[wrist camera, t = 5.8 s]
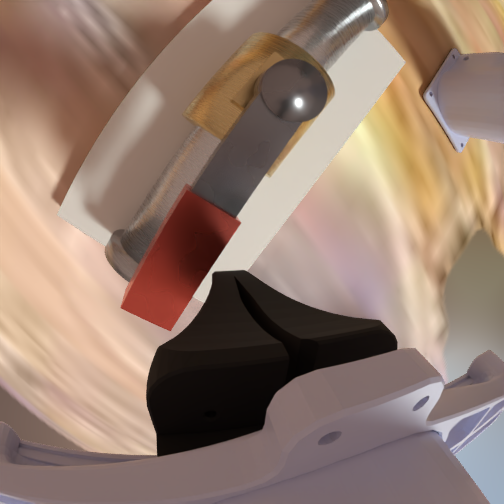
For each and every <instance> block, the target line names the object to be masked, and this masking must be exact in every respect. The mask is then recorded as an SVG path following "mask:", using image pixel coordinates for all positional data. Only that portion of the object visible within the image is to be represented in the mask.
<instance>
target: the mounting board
mask: <svg viewBox="0 0 504 504" xmlns="http://www.w3.org/2000/svg"><path fill="white" fill-rule="evenodd" d="M311 1H312V0H212V1H211V2H210V3H209V4H208V5H207V6H206V7H205V8H203V9H202V10H201V11H200V12H199V13H198V14H197V15H196V16H195V17H194V18H193V19H192V20H191V21H190V22H189V23H188V24H187V25H186V26H185V27H184V28H183V29H182V30H181V31H180V32H179V33H178V34H177V35H176V36H175V37H174V38H173V39H172V41H171V42H170V43H169V44H168V45H167V46H166V47H165V48H164V49H163V50H162V52H161V53H160V54H159V55H158V56H157V57H156V59H155V60H154V61H153V62H152V63H151V64H150V66H149V67H148V68H147V69H146V71H145V72H144V73H143V74H142V76H141V77H140V78H139V79H138V81H137V82H136V83H135V84H134V86H133V87H132V88H131V90H130V91H129V92H128V94H127V95H126V97H125V98H124V99H123V101H122V102H121V103H120V105H119V106H118V108H117V109H116V111H115V112H114V114H113V115H112V116H111V118H110V119H109V121H108V123H107V124H106V126H105V127H104V129H103V130H102V132H101V133H100V135H99V137H98V138H97V140H96V141H95V143H94V145H93V146H92V148H91V150H90V152H89V153H88V155H87V157H86V158H85V160H84V162H83V164H82V166H81V167H80V169H79V171H78V173H77V175H76V177H75V179H74V180H73V182H72V184H71V186H70V188H69V190H68V192H67V194H66V196H65V198H64V201H63V203H62V205H61V207H60V209H59V211H58V214H57V215H58V216H59V217H61V218H62V219H64V220H65V221H67V222H68V223H70V224H71V225H73V226H74V227H76V228H77V229H79V230H80V231H82V232H83V233H85V234H86V235H88V236H90V237H91V238H93V239H94V240H96V241H97V242H99V243H101V244H102V245H104V246H105V247H106V245H107V243H108V241H109V239H110V237H111V235H112V234H113V232H114V231H116V230H118V229H125V230H126V228H127V227H128V225H129V223H130V222H131V220H132V218H133V217H134V215H135V213H136V212H137V210H138V208H139V207H140V205H141V204H142V202H143V200H144V199H145V197H146V196H147V194H148V193H149V191H150V189H151V188H152V186H153V185H154V183H155V182H156V180H157V179H158V177H159V176H160V174H161V173H162V171H163V170H164V168H165V167H166V166H167V164H168V163H169V161H170V160H171V158H172V157H173V156H174V154H175V153H176V151H177V150H178V149H179V147H180V146H181V144H182V143H183V142H184V140H185V139H186V138H187V136H188V135H189V134H190V132H191V131H192V130H193V128H194V127H195V126H194V125H192V124H191V123H190V122H189V121H188V120H186V119H185V118H184V117H183V116H182V113H183V112H184V111H185V109H186V108H187V107H188V106H189V104H190V103H191V102H192V101H193V99H194V98H195V97H196V96H197V94H198V93H199V92H200V91H201V90H202V88H203V87H204V86H205V85H206V84H207V82H208V81H209V80H210V79H211V78H212V77H213V75H214V74H215V73H216V72H217V71H218V70H219V69H220V68H221V66H222V65H223V64H224V63H225V62H226V61H227V60H228V59H229V58H230V57H231V55H232V54H233V53H234V52H235V51H236V50H237V49H238V48H239V47H240V46H241V45H242V44H243V43H244V42H245V41H246V40H247V39H248V38H249V37H250V36H251V35H252V34H254V33H258V32H265V33H271V34H274V35H275V34H276V33H277V32H278V31H279V30H281V29H282V28H283V27H284V26H285V25H286V24H287V23H288V22H289V21H290V20H291V19H292V18H293V17H294V16H295V15H296V14H297V13H299V12H300V11H301V10H302V9H303V8H304V7H305V6H306V5H307V4H309V3H310V2H311ZM405 63H406V62H405V61H404V59H403V58H402V57H401V56H400V55H399V53H398V52H397V51H396V50H395V49H394V47H393V46H392V45H391V44H390V43H389V42H388V41H387V40H386V38H385V37H384V36H383V35H382V34H381V33H380V32H379V31H378V30H377V29H376V30H373V31H364V32H363V33H362V34H361V35H360V36H359V37H358V38H357V39H356V40H355V41H354V42H353V44H352V45H351V46H350V47H349V48H348V49H347V50H346V51H345V52H344V54H343V55H342V56H341V57H340V58H339V59H338V60H337V61H336V63H335V64H334V65H333V66H332V67H331V68H330V69H329V71H328V72H327V73H328V75H329V76H330V78H331V80H332V82H333V85H334V88H335V96H334V98H333V99H332V100H331V101H330V103H329V104H328V105H327V106H326V108H325V109H324V110H323V111H322V113H321V114H320V115H319V116H318V118H317V119H316V120H315V121H314V123H313V124H312V125H311V126H310V128H309V129H308V130H307V131H306V133H305V134H304V135H303V136H302V138H301V139H300V140H299V141H298V143H297V144H296V145H295V147H294V148H293V149H292V150H291V152H290V153H289V154H288V156H287V157H286V158H285V159H284V161H283V162H282V163H281V165H280V166H279V167H278V168H277V170H276V171H275V172H274V174H273V175H272V176H271V178H269V177H267V176H264V177H263V179H262V180H261V182H260V183H259V185H258V186H257V188H256V189H255V190H254V192H253V193H252V195H251V196H250V198H249V199H248V201H247V202H246V204H245V205H244V207H243V208H242V210H241V211H240V213H239V214H238V215H237V217H238V219H239V220H240V221H241V224H240V226H239V227H238V229H237V230H236V232H235V233H234V235H233V236H232V238H231V239H230V241H229V242H228V244H227V245H226V247H225V248H224V250H223V251H222V253H221V254H220V256H219V257H218V259H217V260H216V262H215V263H214V265H213V266H212V268H211V269H210V271H209V272H208V274H207V275H206V277H205V278H204V280H203V281H202V283H201V284H200V286H199V288H198V289H197V291H196V292H195V294H194V295H193V297H194V298H195V299H197V300H199V301H201V302H203V303H205V301H206V299H207V296H208V294H209V291H210V288H211V285H212V273H213V272H215V271H233V270H245V271H248V269H249V268H250V267H251V265H252V264H253V263H254V262H255V260H256V259H257V258H258V256H259V255H260V254H261V252H262V251H263V250H264V249H265V247H266V246H267V245H268V243H269V242H270V241H271V240H272V238H273V237H274V236H275V234H276V233H277V232H278V230H279V229H280V228H281V227H282V225H283V224H284V223H285V221H286V220H287V219H288V217H289V216H290V215H291V213H292V212H293V211H294V210H295V208H296V207H297V206H298V204H299V203H300V202H301V200H302V199H303V198H304V197H305V195H306V194H307V193H308V191H309V190H310V189H311V187H312V186H313V185H314V183H315V182H316V181H317V179H318V178H319V177H320V176H321V174H322V173H323V172H324V170H325V169H326V168H327V166H328V165H329V164H330V162H331V161H332V160H333V158H334V157H335V156H336V154H337V153H338V152H339V151H340V149H341V148H342V147H343V145H344V144H345V143H346V141H347V140H348V139H349V137H350V136H351V135H352V133H353V132H354V131H355V129H356V128H357V127H358V125H359V124H360V123H361V121H362V120H363V119H364V117H365V116H366V115H367V113H368V112H369V111H370V109H371V108H372V107H373V105H374V104H375V103H376V101H377V100H378V99H379V97H380V96H381V95H382V93H383V92H384V91H385V89H386V88H387V87H388V85H389V84H390V83H391V81H392V80H393V79H394V77H395V76H396V75H397V73H398V72H399V71H400V69H401V68H402V67H403V65H404V64H405Z"/></svg>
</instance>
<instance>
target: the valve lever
mask: <svg viewBox="0 0 504 504" xmlns="http://www.w3.org/2000/svg"><path fill="white" fill-rule="evenodd" d="M326 101H327V86H326V83H325V80H324V78H323V76H322V75H321V73H320V72H319V71H318V70H317V69H316V68H315V67H314V66H313V65H311V64H310V63H308V62H306V61H303V60H300V59H284V60H281V61H279V62H277V63H275V64H274V65H272V66H271V67H270V68H268V69H267V70H266V71H264V72H263V73H262V74H261V75H260V76H259V77H258V79H257V81H256V83H255V87H254V96H253V98H252V99H251V100H250V102H249V103H248V104H247V106H246V107H245V108H244V110H243V111H242V112H241V114H240V115H239V116H238V118H237V119H236V121H235V122H234V123H233V125H232V126H231V127H230V129H229V130H228V132H227V133H226V135H225V136H224V137H223V139H222V140H221V142H220V143H219V145H218V146H217V147H216V149H215V150H214V152H213V153H212V155H211V156H210V158H209V159H208V161H207V162H206V164H205V165H204V167H203V168H202V170H201V171H200V173H199V174H198V176H197V177H196V179H195V181H194V182H193V184H192V185H191V186H190V185H188V184H187V183H186V184H185V186H184V187H183V189H182V191H181V192H180V194H179V196H178V197H177V199H176V200H175V202H174V204H173V205H172V207H171V209H170V210H169V212H168V214H167V215H166V217H165V219H164V220H163V222H162V224H161V226H160V227H159V229H158V231H157V233H156V234H155V236H154V238H153V240H152V241H151V243H150V245H149V247H148V249H147V250H146V252H145V254H144V256H143V258H142V260H141V261H140V263H139V265H138V267H137V269H136V271H135V273H134V275H133V276H132V278H131V280H130V282H129V284H128V286H127V288H126V291H125V294H124V297H123V301H122V304H121V308H122V309H124V310H126V311H128V312H130V313H132V314H134V315H136V316H138V317H140V318H142V319H145V320H147V321H149V322H151V323H153V324H155V325H158V326H160V327H162V328H164V329H167V330H169V331H171V329H172V328H173V326H174V325H175V323H176V322H177V320H178V318H179V317H180V315H181V314H182V312H183V311H184V309H185V308H186V306H187V304H188V303H189V301H190V300H191V298H192V297H193V295H194V294H195V292H196V291H197V289H198V288H199V286H200V284H201V283H202V281H203V280H204V278H205V277H206V275H207V274H208V272H209V271H210V269H211V268H212V266H213V265H214V263H215V262H216V260H217V259H218V257H219V256H220V254H221V253H222V251H223V250H224V248H225V247H226V245H227V244H228V242H229V241H230V239H231V238H232V236H233V235H234V233H235V232H236V230H237V229H238V227H239V226H240V224H241V221H240V220H239V219H238V217H237V215H238V214H239V213H240V211H241V210H242V208H243V207H244V205H245V204H246V202H247V201H248V199H249V198H250V196H251V195H252V193H253V192H254V190H255V189H256V188H257V186H258V185H259V183H260V182H261V180H262V179H263V177H264V176H265V175H266V173H267V172H268V170H269V169H270V167H271V166H272V164H273V163H274V162H275V160H276V159H277V157H278V156H279V154H280V153H281V152H282V150H283V149H284V147H285V146H286V145H287V143H288V142H289V140H290V139H291V138H292V136H293V135H294V133H295V132H296V131H297V129H298V128H299V126H300V125H301V124H302V122H305V121H309V120H311V119H313V118H315V117H316V116H317V115H319V114H320V112H321V111H322V110H323V108H324V106H325V104H326Z"/></svg>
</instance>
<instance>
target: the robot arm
mask: <svg viewBox="0 0 504 504" xmlns="http://www.w3.org/2000/svg"><path fill="white" fill-rule="evenodd" d="M429 93H430V94H429ZM423 98H424V100H425V102H426V103H427V104H428V106H429V107H430V109H431V110H432V112H433V113H434V115H435V116H436V118H437V119H438V121H439V123H440V124H441V126H442V127H443V129H444V131H445V132H446V134H447V136H448V137H449V139H450V141H451V142H452V144H453V146H454V148H455V149H456V151H457V152H459V153H461V152H462V151H463V149H464V147H465V145H466V143H467V141H468V139H469V137H471V138H477V139H483V140H488V141H494V142H499V143H503V144H504V53H500V52H490V53H473V54H462V55H460V53H459V52H458V50H457V49H456V48H453V49H452V50H451V51H450V53H449V54H448V56H447V58H446V59H445V61H444V63H443V64H442V66H441V67H440V69H439V71H438V72H437V74H436V75H435V77H434V78H433V80H432V82H431V83H430V85H429V86H428V88H427V89H426V91H425V92H424V94H423ZM444 384H445V382H444V380H443V378H442V376H441V374H440V373H439V372H438V371H437V370H436V369H435V368H434V367H433V366H432V365H431V364H430V363H429V362H428V361H427V360H426V359H425V358H424V357H423V356H422V355H421V354H420V353H419V352H418V351H417V350H416V349H415V348H404V349H398V350H397V340H396V337H395V335H394V334H393V333H392V332H391V331H390V330H389V329H388V328H387V327H386V326H385V325H384V324H383V323H382V322H381V321H380V320H372V319H362V318H353V317H348V316H343V315H338V314H333V313H329V312H326V311H322V310H319V309H316V308H313V307H310V306H307V305H305V304H302V303H300V302H298V301H295V300H293V299H291V298H289V297H287V296H285V295H283V294H282V293H280V292H278V291H276V290H275V289H273V288H271V287H270V286H268V285H267V284H265V283H263V282H262V281H260V280H259V279H258V278H256V277H255V276H253V275H252V274H250V273H249V272H247V271H245V270H233V271H215V272H213V273H212V285H211V288H210V291H209V294H208V296H207V299H206V301H205V303H204V305H203V306H202V308H201V310H200V311H199V313H198V314H197V316H196V317H195V318H194V319H193V321H192V322H191V323H190V324H189V325H188V326H187V327H186V328H185V329H184V330H183V331H182V332H181V333H180V334H178V335H177V336H176V337H174V338H173V339H171V340H169V341H168V342H166V343H164V344H163V345H161V346H159V347H158V349H157V351H156V353H155V356H154V358H153V361H152V364H151V367H150V371H149V375H148V380H147V392H146V400H147V407H148V411H149V414H150V417H151V420H152V423H153V425H154V428H155V431H156V434H157V455H123V454H108V453H97V452H87V451H79V450H72V449H65V448H59V447H54V446H48V445H43V444H38V443H34V442H29V441H25V440H21V439H20V438H19V437H18V435H17V434H16V432H15V431H14V430H13V429H12V428H11V427H10V426H9V425H7V424H6V423H4V422H2V421H0V504H490V503H489V501H488V500H487V499H486V497H485V496H484V494H483V493H482V492H481V490H480V489H479V488H478V486H477V485H476V483H475V482H474V481H473V479H472V478H471V477H470V475H469V474H468V473H467V471H466V470H465V469H464V467H463V466H462V465H461V463H460V462H459V461H458V459H457V458H456V457H455V454H456V453H458V452H459V451H460V450H462V449H463V448H464V447H465V446H467V445H468V444H469V443H470V442H471V441H472V440H474V439H475V438H476V437H477V436H479V435H480V434H481V433H482V432H483V431H484V430H485V429H487V428H488V427H489V426H490V425H491V424H492V423H493V422H495V420H496V419H497V418H498V417H499V415H500V414H501V413H502V411H503V410H504V362H503V361H502V360H501V359H500V358H499V357H498V356H497V355H496V354H494V353H493V352H492V351H491V350H488V351H486V352H484V353H483V354H481V355H479V356H478V357H477V358H475V359H474V361H473V362H472V364H471V365H470V367H469V369H468V371H467V373H466V374H464V375H463V376H461V377H459V378H457V379H455V380H454V381H452V382H450V383H448V384H446V385H444Z"/></svg>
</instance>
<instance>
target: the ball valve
mask: <svg viewBox="0 0 504 504" xmlns="http://www.w3.org/2000/svg"><path fill="white" fill-rule="evenodd" d="M388 14H389V9H388V5H387V2H386V0H312V1H311V2H310V3H309V4H307V5H306V6H305V7H304V8H303V9H302V10H301V11H300V12H299V13H297V14H296V15H295V16H294V17H293V18H292V19H291V20H290V21H289V22H288V23H287V24H286V25H285V26H284V27H283V28H282V29H281V30H279V31H278V32H277V33H276V34H275V35H274V34H271V33H265V32H258V33H254V34H252V35H251V36H250V37H249V38H248V39H247V40H246V41H245V42H244V43H243V44H242V45H241V46H240V47H239V48H238V49H237V50H236V51H235V52H234V53H233V54H232V55H231V57H230V58H229V59H228V60H227V61H226V62H225V63H224V64H223V65H222V66H221V68H220V69H219V70H218V71H217V72H216V73H215V74H214V75H213V77H212V78H211V79H210V80H209V81H208V82H207V84H206V85H205V86H204V87H203V88H202V90H201V91H200V92H199V93H198V94H197V96H196V97H195V98H194V99H193V101H192V102H191V103H190V104H189V106H188V107H187V108H186V109H185V111H184V112H183V113H182V116H183V117H184V118H185V119H186V120H188V121H189V122H190V123H191V124H192V125H194V126H195V127H194V128H193V130H192V131H191V132H190V134H189V135H188V136H187V138H186V139H185V140H184V142H183V143H182V144H181V146H180V147H179V149H178V150H177V151H176V153H175V154H174V156H173V157H172V158H171V160H170V161H169V163H168V164H167V166H166V167H165V168H164V170H163V171H162V173H161V174H160V176H159V177H158V179H157V180H156V182H155V183H154V185H153V186H152V188H151V189H150V191H149V193H148V194H147V196H146V197H145V199H144V200H143V202H142V204H141V205H140V207H139V208H138V210H137V212H136V213H135V215H134V217H133V218H132V220H131V222H130V223H129V225H128V227H127V228H126V230H125V229H118V230H116V231H114V232H113V234H112V235H111V237H110V239H109V241H108V243H107V245H106V247H105V255H106V258H107V260H108V262H109V263H110V265H111V266H112V267H113V268H114V270H115V271H116V272H117V273H118V274H119V275H120V276H122V277H123V278H124V279H125V280H127V281H128V282H130V280H131V278H132V276H133V275H134V273H135V271H136V269H137V267H138V265H139V263H140V261H141V260H142V258H143V256H144V254H145V252H146V250H147V249H148V247H149V245H150V243H151V241H152V240H153V238H154V236H155V234H156V233H157V231H158V229H159V227H160V226H161V224H162V222H163V220H164V219H165V217H166V215H167V214H168V212H169V210H170V209H171V207H172V205H173V204H174V202H175V200H176V199H177V197H178V196H179V194H180V192H181V191H182V189H183V187H184V186H185V184H186V183H187V184H188V185H190V186H191V185H192V184H193V182H194V181H195V179H196V177H197V176H198V174H199V173H200V171H201V170H202V168H203V167H204V165H205V164H206V162H207V161H208V159H209V158H210V156H211V155H212V153H213V152H214V150H215V149H216V147H217V146H218V145H219V143H220V142H221V140H222V139H223V137H224V136H225V135H226V133H227V132H228V130H229V129H230V127H231V126H232V125H233V123H234V122H235V121H236V119H237V118H238V116H239V115H240V114H241V112H242V111H243V110H244V108H245V107H246V106H247V104H248V103H249V102H250V100H251V99H252V98H253V96H254V87H255V83H256V81H257V79H258V77H259V76H260V75H261V74H262V73H263V72H264V71H266V70H267V69H268V68H270V67H271V66H272V65H274V64H275V63H277V62H279V61H281V60H284V59H300V60H303V61H306V62H308V63H310V64H311V65H313V66H314V67H315V68H316V69H317V70H318V71H319V72H320V73H321V75H322V76H323V78H324V80H325V83H326V86H327V101H326V104H325V106H324V108H323V110H324V109H325V108H326V106H327V105H328V104H329V103H330V101H331V100H332V99H333V98H334V96H335V88H334V85H333V82H332V80H331V78H330V76H329V75H328V73H327V72H328V71H329V69H330V68H331V67H332V66H333V65H334V64H335V63H336V61H337V60H338V59H339V58H340V57H341V56H342V55H343V54H344V52H345V51H346V50H347V49H348V48H349V47H350V46H351V45H352V44H353V42H354V41H355V40H356V39H357V38H358V37H359V36H360V35H361V34H362V33H363V32H364V31H373V30H376V29H378V28H379V27H380V26H381V25H382V24H383V23H384V22H385V20H386V19H387V17H388ZM323 110H322V111H323ZM322 111H321V112H320V114H321V113H322ZM320 114H319V115H320ZM319 115H317V116H316V117H315V118H313V119H311V120H309V121H305V122H302V124H301V125H300V126H299V128H298V129H297V131H296V132H295V133H294V135H293V136H292V138H291V139H290V140H289V142H288V143H287V145H286V146H285V147H284V149H283V150H282V152H281V153H280V154H279V156H278V157H277V159H276V160H275V162H274V163H273V164H272V166H271V167H270V169H269V170H268V172H267V173H266V175H265V176H267V177H269V178H271V176H272V175H273V174H274V172H275V171H276V170H277V168H278V167H279V166H280V165H281V163H282V162H283V161H284V159H285V158H286V157H287V156H288V154H289V153H290V152H291V150H292V149H293V148H294V147H295V145H296V144H297V143H298V141H299V140H300V139H301V138H302V136H303V135H304V134H305V133H306V131H307V130H308V129H309V128H310V126H311V125H312V124H313V123H314V121H315V120H316V119H317V118H318V116H319Z"/></svg>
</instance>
